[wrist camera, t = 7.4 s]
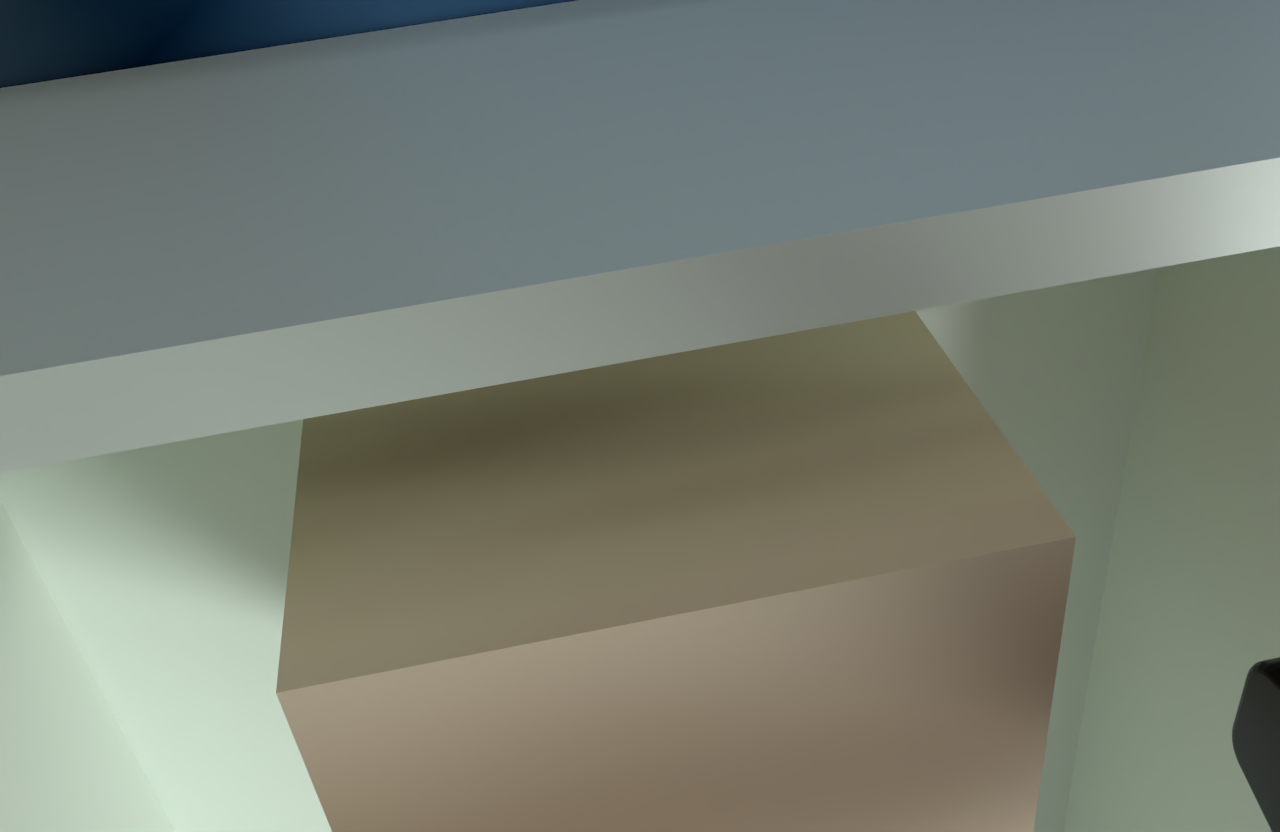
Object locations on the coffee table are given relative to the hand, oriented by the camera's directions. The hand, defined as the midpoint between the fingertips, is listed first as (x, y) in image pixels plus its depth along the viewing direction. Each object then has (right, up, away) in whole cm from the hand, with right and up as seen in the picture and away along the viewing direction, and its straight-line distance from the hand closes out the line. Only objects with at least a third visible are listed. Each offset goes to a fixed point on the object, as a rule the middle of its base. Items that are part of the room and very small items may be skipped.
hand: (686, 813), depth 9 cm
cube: (-1, +3, +4) cm, 5 cm away
